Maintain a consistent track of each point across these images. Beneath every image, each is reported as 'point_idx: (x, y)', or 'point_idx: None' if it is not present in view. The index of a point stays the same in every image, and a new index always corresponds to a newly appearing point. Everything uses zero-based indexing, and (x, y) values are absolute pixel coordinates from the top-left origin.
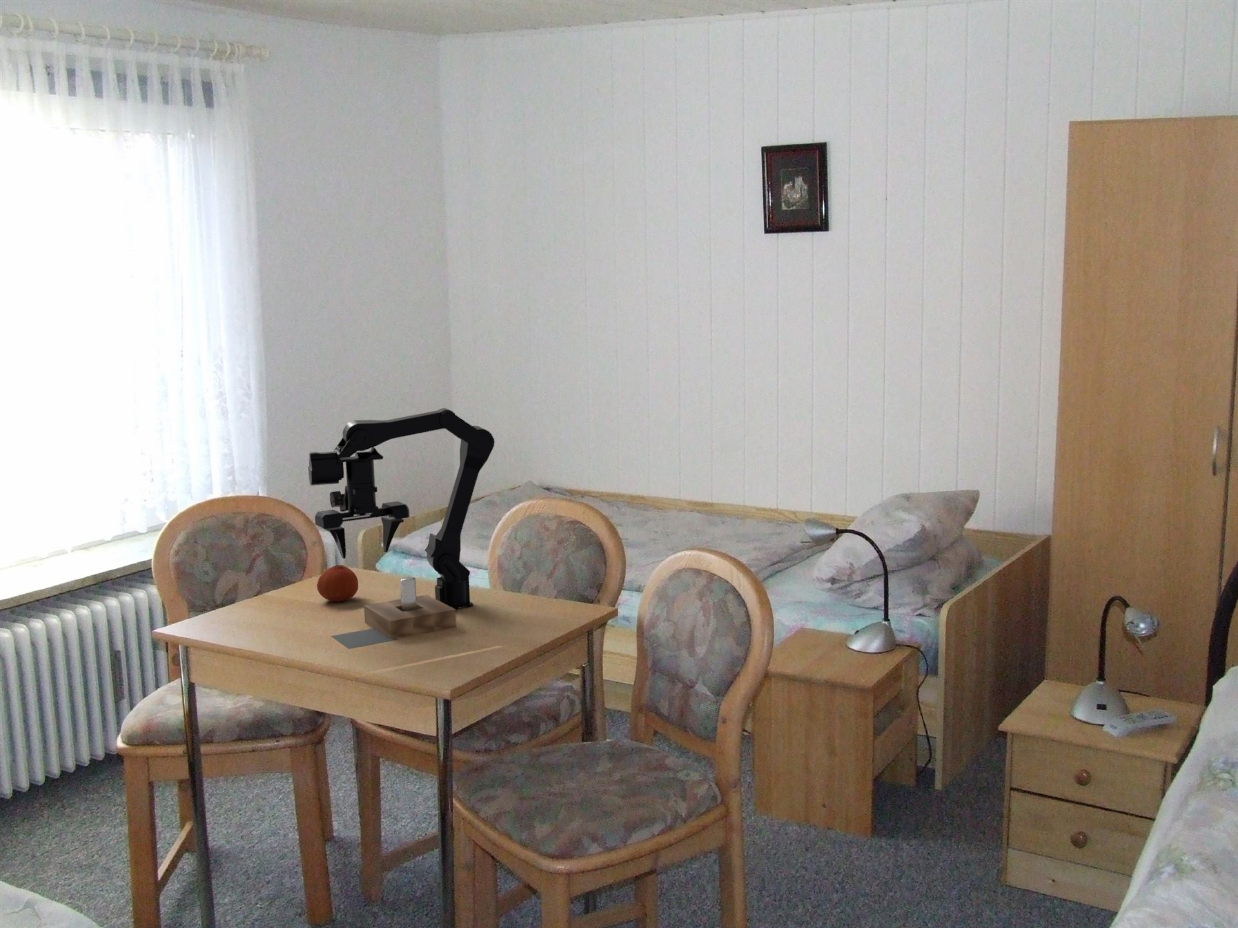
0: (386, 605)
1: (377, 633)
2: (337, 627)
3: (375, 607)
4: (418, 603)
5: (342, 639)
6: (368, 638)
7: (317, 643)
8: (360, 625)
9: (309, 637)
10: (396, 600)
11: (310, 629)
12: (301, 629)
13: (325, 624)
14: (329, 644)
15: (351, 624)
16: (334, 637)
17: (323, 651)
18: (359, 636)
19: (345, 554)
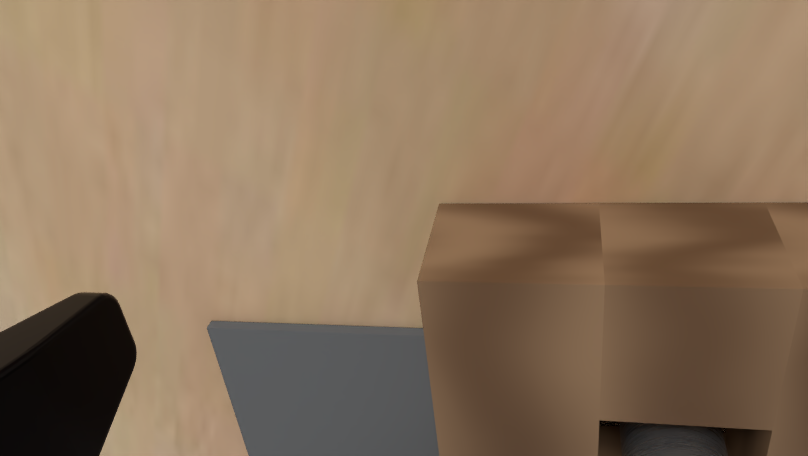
0: (564, 367)
1: None
2: (266, 167)
3: (476, 365)
4: (787, 448)
5: (255, 400)
6: (374, 451)
7: (143, 353)
8: (407, 207)
9: (104, 252)
10: (697, 299)
11: (105, 115)
12: (51, 83)
13: (200, 60)
14: (196, 393)
15: (360, 156)
16: (221, 356)
17: (166, 450)
18: (341, 405)
19: (103, 435)
